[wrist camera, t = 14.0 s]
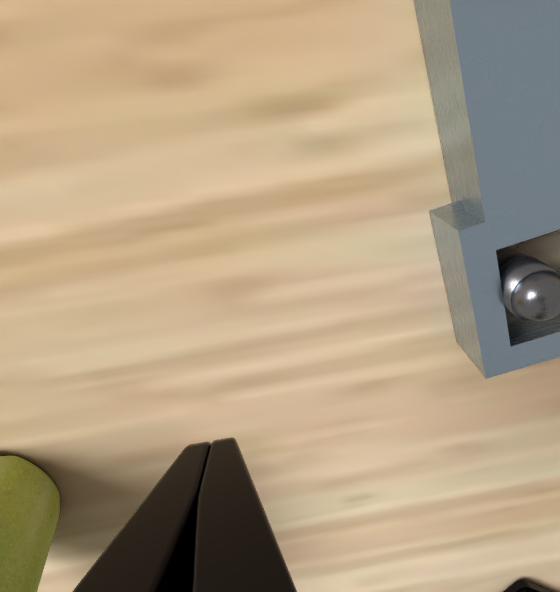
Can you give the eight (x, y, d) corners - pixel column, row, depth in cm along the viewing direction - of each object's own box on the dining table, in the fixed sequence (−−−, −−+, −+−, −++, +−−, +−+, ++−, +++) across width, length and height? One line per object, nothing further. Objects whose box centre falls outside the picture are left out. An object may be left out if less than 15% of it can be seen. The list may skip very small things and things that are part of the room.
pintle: (528, 255, 18) (596, 296, 15) (495, 294, 19) (552, 342, 15) (492, 231, 18) (553, 266, 14) (459, 271, 19) (509, 315, 15)
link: (599, 298, 19) (651, 328, 17) (456, 342, 20) (486, 378, 17) (574, -144, 13) (649, -201, 11) (371, -62, 14) (396, -97, 11)
